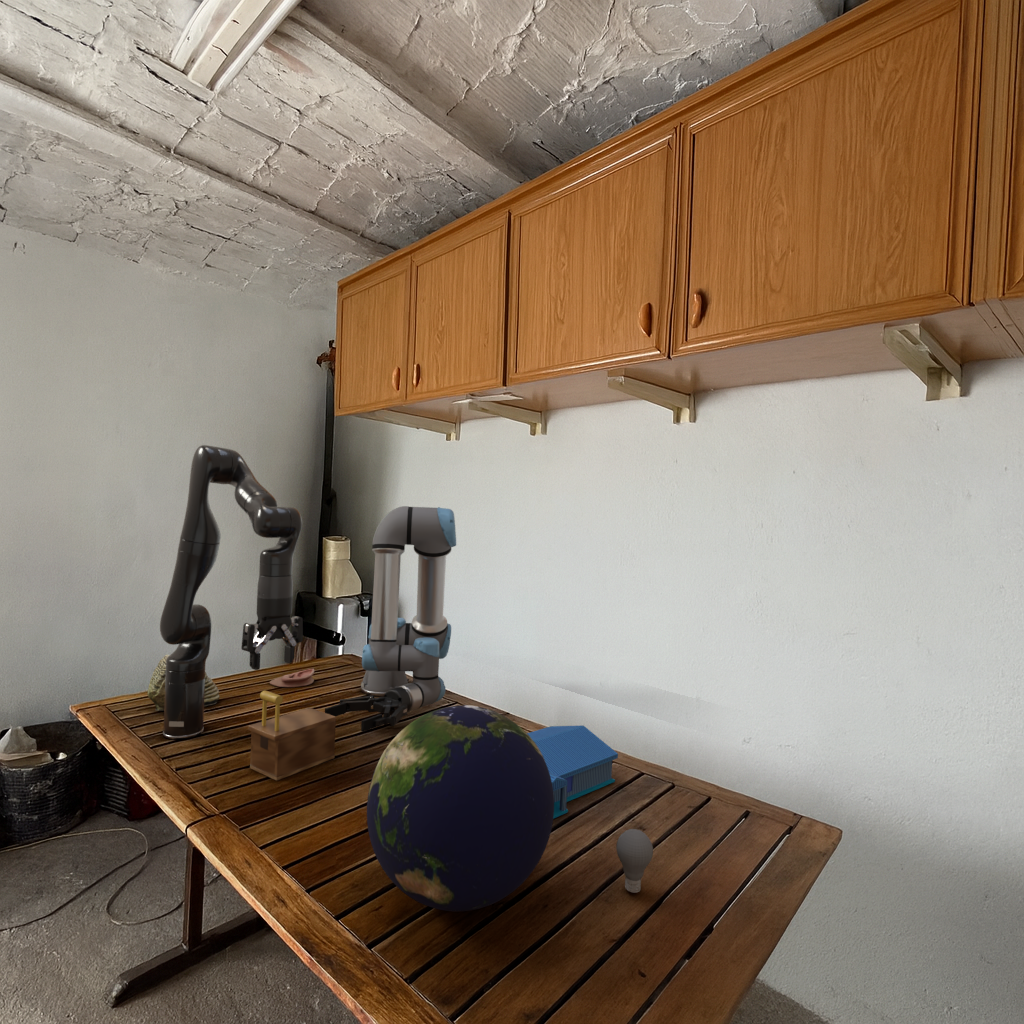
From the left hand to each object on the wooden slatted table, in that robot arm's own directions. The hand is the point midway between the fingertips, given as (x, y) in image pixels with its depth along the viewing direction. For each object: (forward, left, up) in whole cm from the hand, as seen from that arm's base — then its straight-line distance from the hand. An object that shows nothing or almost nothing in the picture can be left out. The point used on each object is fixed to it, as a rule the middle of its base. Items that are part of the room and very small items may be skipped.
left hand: (272, 665), depth 144 cm
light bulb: (+80, +28, -24) cm, 89 cm away
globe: (+62, +5, -24) cm, 67 cm away
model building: (+43, +40, -24) cm, 64 cm away
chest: (-1, +6, -24) cm, 25 cm away
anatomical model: (-62, +33, -24) cm, 74 cm away
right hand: (-3, +20, -18) cm, 27 cm away
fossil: (-57, -2, -24) cm, 62 cm away
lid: (-1, +6, -15) cm, 16 cm away
